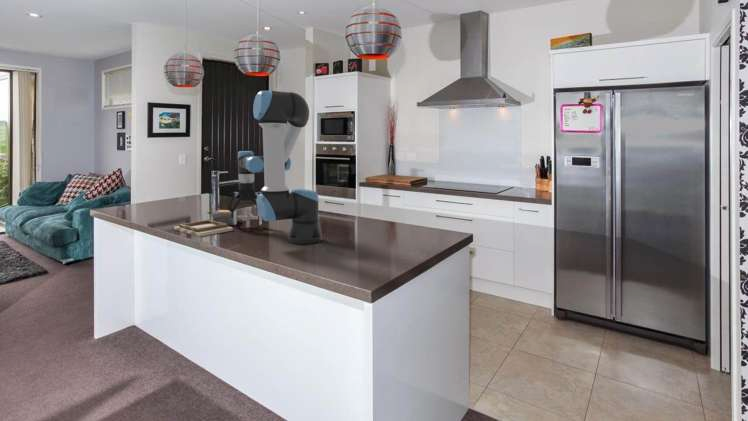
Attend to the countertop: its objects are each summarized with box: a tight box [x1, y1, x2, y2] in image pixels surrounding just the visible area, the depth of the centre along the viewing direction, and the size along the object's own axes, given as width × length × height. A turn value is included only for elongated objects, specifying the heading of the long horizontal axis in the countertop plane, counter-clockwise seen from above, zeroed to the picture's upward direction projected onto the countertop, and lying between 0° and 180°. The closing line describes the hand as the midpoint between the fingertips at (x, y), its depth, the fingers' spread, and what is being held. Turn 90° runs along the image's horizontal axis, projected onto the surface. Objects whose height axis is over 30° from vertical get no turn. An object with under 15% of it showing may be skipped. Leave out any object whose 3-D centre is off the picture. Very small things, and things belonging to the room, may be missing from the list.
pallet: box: [173, 219, 234, 238], centre depth 218 cm, size 22×18×3 cm
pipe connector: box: [237, 207, 259, 228], centre depth 226 cm, size 10×10×10 cm
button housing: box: [212, 209, 239, 226], centre depth 236 cm, size 11×11×6 cm
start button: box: [217, 209, 231, 213], centre depth 236 cm, size 6×6×3 cm
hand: (247, 224), depth 227 cm, fingers open, 12 cm apart
